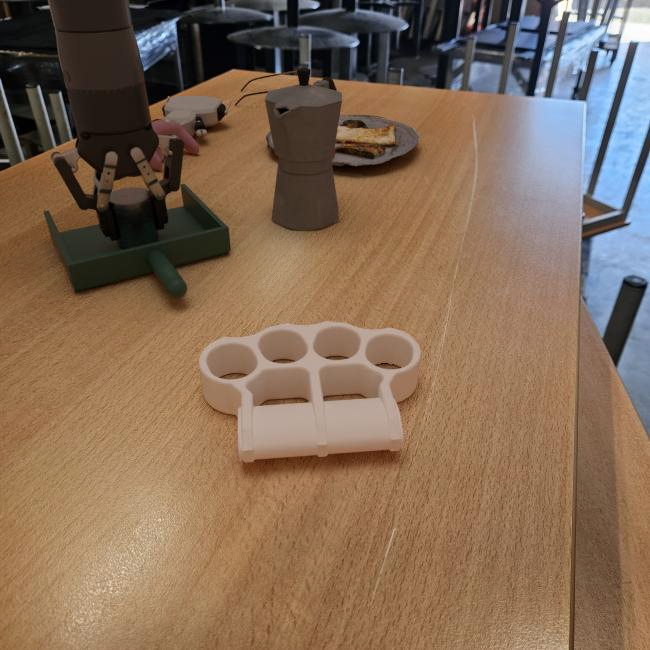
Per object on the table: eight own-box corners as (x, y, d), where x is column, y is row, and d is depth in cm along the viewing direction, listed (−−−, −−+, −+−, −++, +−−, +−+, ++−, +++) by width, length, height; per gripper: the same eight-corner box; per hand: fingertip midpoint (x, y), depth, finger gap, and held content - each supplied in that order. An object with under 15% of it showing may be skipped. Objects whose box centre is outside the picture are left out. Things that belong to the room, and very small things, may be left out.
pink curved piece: (186, 159, 95) (166, 117, 93) (204, 151, 92) (184, 108, 90) (143, 178, 88) (120, 134, 86) (160, 170, 86) (137, 124, 83)
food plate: (244, 163, 90) (242, 140, 88) (297, 121, 108) (296, 102, 106) (399, 184, 84) (401, 160, 82) (428, 136, 101) (431, 116, 99)
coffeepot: (318, 244, 68) (318, 85, 58) (249, 229, 71) (237, 76, 61) (362, 196, 80) (369, 56, 69) (301, 185, 83) (299, 50, 72)
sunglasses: (307, 108, 115) (305, 82, 112) (234, 113, 116) (230, 88, 113) (308, 90, 127) (306, 66, 124) (242, 95, 127) (238, 71, 124)
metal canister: (122, 252, 65) (112, 207, 61) (112, 235, 68) (102, 192, 65) (164, 242, 67) (156, 198, 63) (152, 226, 70) (144, 184, 67)
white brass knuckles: (194, 476, 40) (207, 348, 52) (444, 457, 42) (401, 336, 54) (188, 443, 38) (202, 317, 50) (451, 424, 40) (405, 307, 52)
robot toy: (209, 152, 96) (235, 119, 108) (206, 125, 93) (232, 94, 105) (141, 147, 98) (173, 115, 109) (135, 120, 95) (169, 91, 106)
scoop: (51, 237, 69) (43, 211, 67) (188, 208, 76) (184, 183, 74) (94, 335, 53) (85, 304, 51) (261, 287, 60) (259, 257, 58)
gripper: (163, 62, 62) (184, 208, 72) (21, 77, 56) (65, 233, 66) (186, 77, 57) (206, 231, 67) (33, 95, 51) (79, 261, 61)
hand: (136, 231), depth 67 cm, fingers closed on metal canister, 4 cm apart
